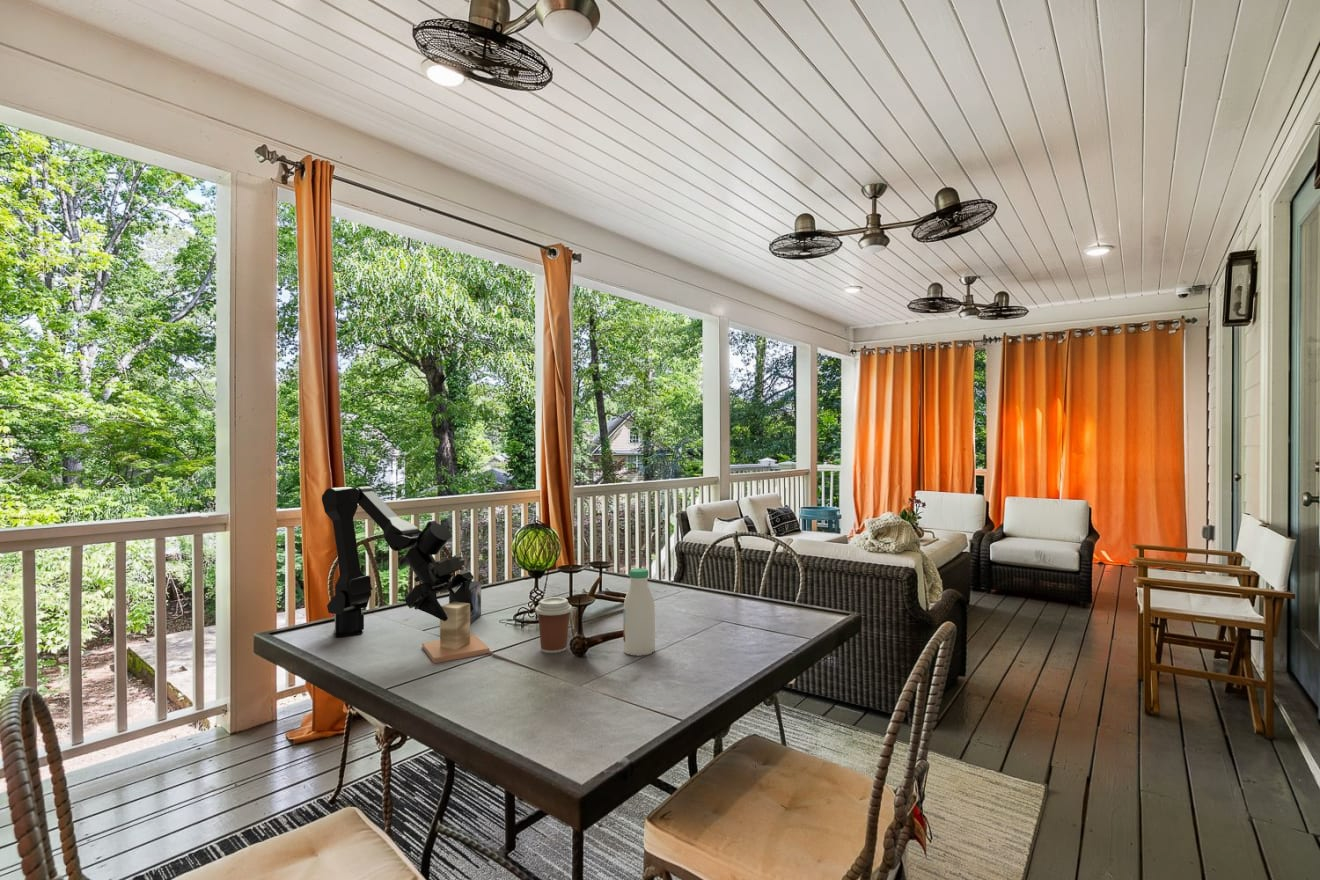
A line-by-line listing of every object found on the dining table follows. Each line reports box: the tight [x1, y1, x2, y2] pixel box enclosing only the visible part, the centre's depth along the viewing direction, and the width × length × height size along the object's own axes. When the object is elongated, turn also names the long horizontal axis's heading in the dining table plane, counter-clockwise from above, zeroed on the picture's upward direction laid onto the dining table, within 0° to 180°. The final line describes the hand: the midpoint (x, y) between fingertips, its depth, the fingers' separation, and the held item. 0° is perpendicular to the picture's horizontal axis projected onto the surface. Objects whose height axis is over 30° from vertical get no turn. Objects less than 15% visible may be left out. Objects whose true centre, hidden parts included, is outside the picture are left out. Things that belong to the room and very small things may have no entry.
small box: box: [448, 580, 482, 625], centre depth 178 cm, size 11×6×10 cm, turn 179°
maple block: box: [439, 602, 471, 650], centre depth 152 cm, size 5×5×10 cm
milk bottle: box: [622, 567, 656, 657], centre depth 151 cm, size 8×8×20 cm
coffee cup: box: [534, 596, 573, 654], centre depth 153 cm, size 9×9×12 cm
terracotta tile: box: [421, 634, 490, 664], centre depth 152 cm, size 13×13×1 cm
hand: (459, 615), depth 152 cm, fingers open, 9 cm apart
